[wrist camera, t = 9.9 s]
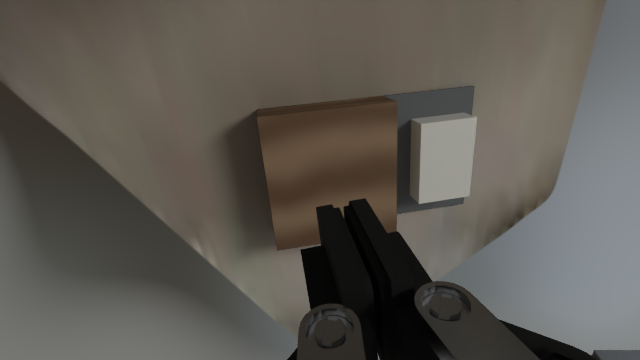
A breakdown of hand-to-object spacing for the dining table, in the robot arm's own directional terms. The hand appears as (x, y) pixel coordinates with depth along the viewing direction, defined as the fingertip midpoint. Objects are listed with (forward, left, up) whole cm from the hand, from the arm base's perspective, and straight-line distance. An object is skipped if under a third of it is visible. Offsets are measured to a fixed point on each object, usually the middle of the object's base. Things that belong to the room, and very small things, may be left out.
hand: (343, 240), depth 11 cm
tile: (+7, +16, -22) cm, 28 cm away
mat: (+6, +15, -24) cm, 29 cm away
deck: (+6, +3, -24) cm, 25 cm away
